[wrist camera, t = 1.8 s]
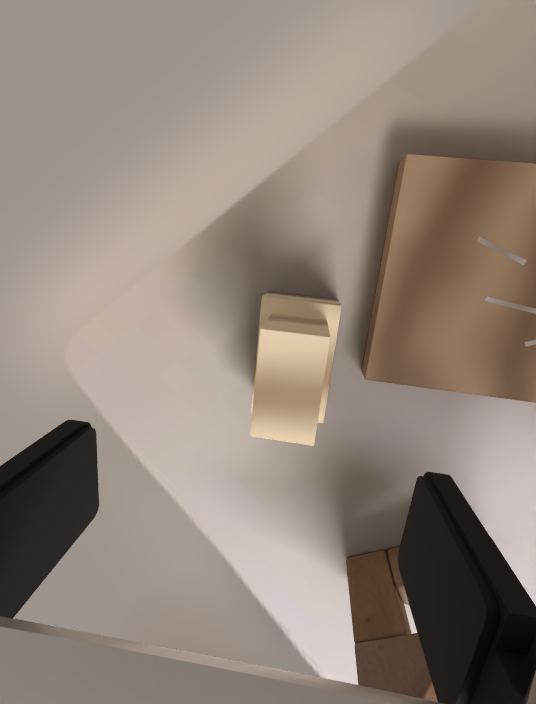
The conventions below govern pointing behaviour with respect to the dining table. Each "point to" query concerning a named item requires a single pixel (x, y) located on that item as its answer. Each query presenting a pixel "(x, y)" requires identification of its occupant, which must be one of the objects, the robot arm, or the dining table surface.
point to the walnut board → (458, 279)
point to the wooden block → (385, 628)
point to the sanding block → (293, 366)
